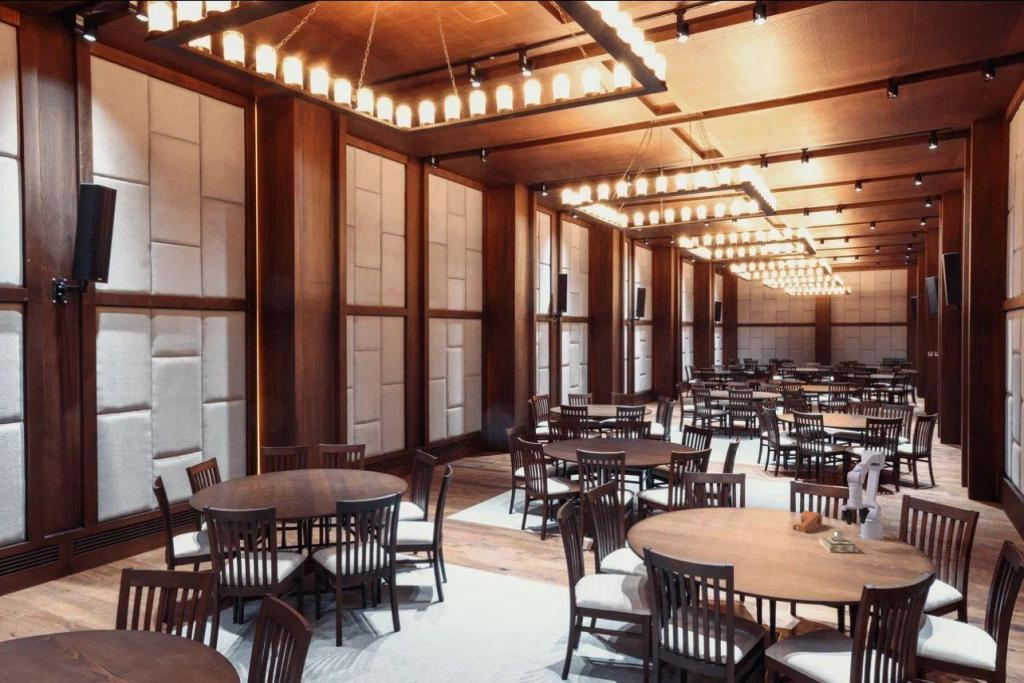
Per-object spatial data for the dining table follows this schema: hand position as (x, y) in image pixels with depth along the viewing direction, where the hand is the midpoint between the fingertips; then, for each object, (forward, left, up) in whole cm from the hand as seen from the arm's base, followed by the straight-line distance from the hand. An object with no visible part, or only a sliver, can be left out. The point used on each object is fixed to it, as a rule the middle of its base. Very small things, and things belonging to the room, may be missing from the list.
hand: (855, 524), depth 335 cm
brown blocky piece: (+14, -29, -11) cm, 34 cm away
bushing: (+9, +2, -10) cm, 14 cm away
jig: (+10, +5, -10) cm, 15 cm away
